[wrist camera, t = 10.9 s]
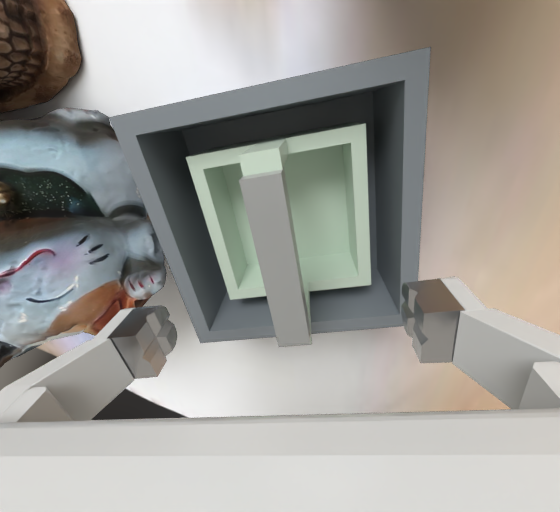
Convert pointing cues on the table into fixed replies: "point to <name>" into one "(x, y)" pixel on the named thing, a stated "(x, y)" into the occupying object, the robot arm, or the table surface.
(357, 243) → the small crate
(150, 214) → the large crate
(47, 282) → the lucky cat figurine
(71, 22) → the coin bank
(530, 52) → the table surface
